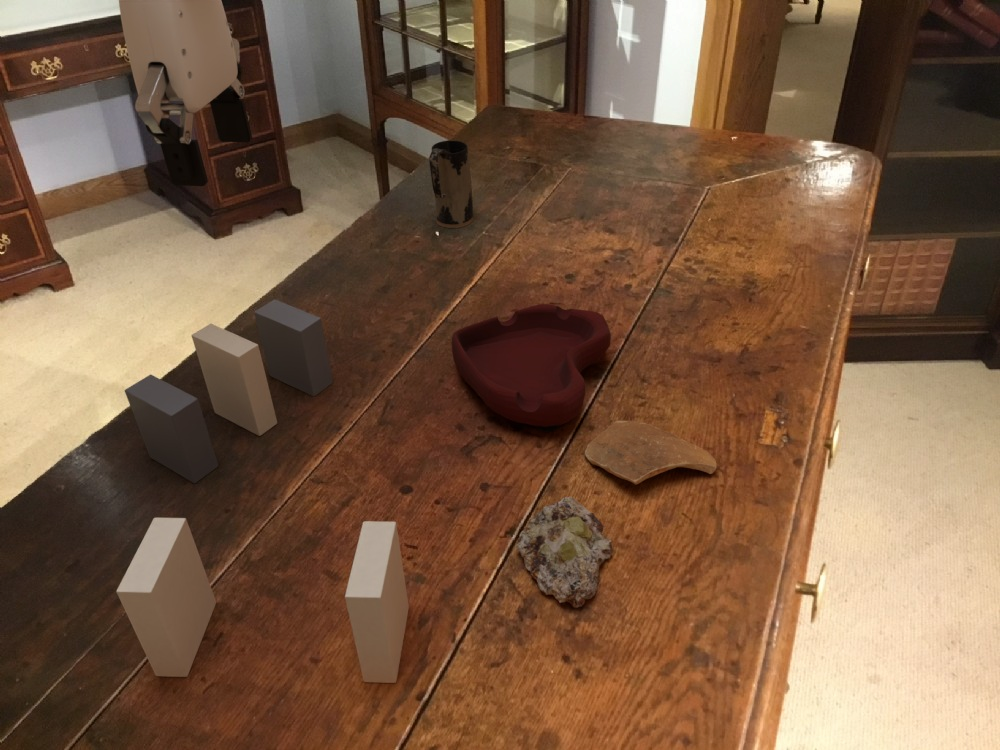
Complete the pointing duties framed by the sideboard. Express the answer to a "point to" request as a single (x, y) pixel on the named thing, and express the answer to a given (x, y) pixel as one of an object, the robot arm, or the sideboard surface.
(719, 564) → the sideboard surface
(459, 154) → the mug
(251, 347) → the white book
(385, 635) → the white books
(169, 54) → the robot arm
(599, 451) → the pottery shard
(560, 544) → the mineral rock
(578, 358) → the ashtray
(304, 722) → the sideboard surface
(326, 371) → the grey books
